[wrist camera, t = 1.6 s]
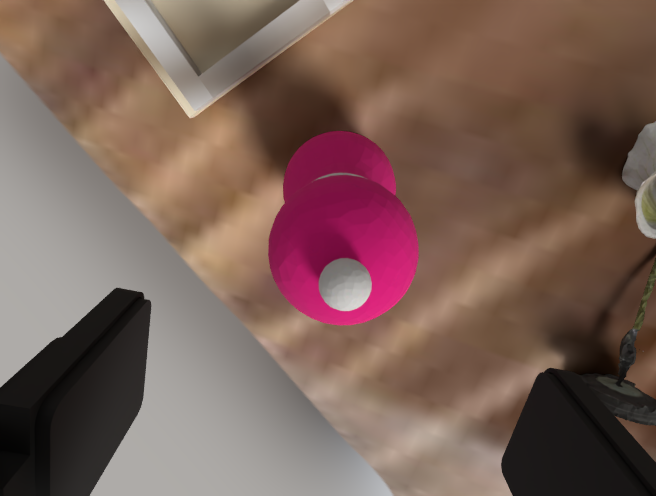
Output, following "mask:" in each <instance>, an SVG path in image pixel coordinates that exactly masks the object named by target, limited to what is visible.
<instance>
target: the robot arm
mask: <svg viewBox="0 0 656 496" xmlns="http://www.w3.org/2000/svg"><path fill="white" fill-rule="evenodd" d="M150 314H151V302H150V300H145V299H144V294H143V293H142V292H137V291H132V290H126V289H121V288H116V289H114V290H113V291H112V292H111V293H110V294H109V295H107V296H106V297H105V298H104V299H103V300H102V301H101V302H100V303H99V304H98V305H97V306H95V307H94V308H93V309H92V310H91V311H90V312H89V313H88V314H87V315H86V316H85V317H83V318H82V319H81V320H80V321H79V322H78V323H77V324H76V325H75V326H74V327H73V328H72V329H70V330H69V331H68V332H67V333H66V334H65V335H64V336H63V337H60V338H56V339H55V340H53V341H52V342H50V343H49V344H48V345H47V346H46V347H45V348H44V349H43V350H42V351H41V352H40V353H38V354H37V355H36V356H35V357H34V358H33V359H32V360H30V361H29V362H28V363H27V364H26V365H25V366H24V367H23V368H22V369H20V370H19V371H18V372H17V373H16V374H15V375H14V376H13V377H12V378H10V379H9V380H8V381H7V382H6V383H5V384H4V385H3V386H2V387H0V496H89V495H90V494H91V492H92V490H93V489H94V487H95V485H96V484H97V482H98V480H99V478H100V477H101V475H102V473H103V472H104V470H105V468H106V467H107V465H108V463H109V462H110V460H111V458H112V457H113V455H114V453H115V451H116V450H117V448H118V446H119V445H120V443H121V441H122V440H123V438H124V436H125V435H126V433H127V431H128V430H129V428H130V426H131V424H132V423H133V421H134V419H135V417H136V416H137V414H138V412H139V410H140V408H141V405H142V401H143V393H144V383H145V371H146V359H147V348H148V336H149V326H150ZM501 467H502V473H503V476H504V478H505V480H506V482H507V484H508V486H509V489H510V491H511V493H512V495H513V496H656V462H655V461H654V460H653V459H652V458H651V457H650V456H649V454H648V453H647V452H646V451H645V450H644V449H643V448H642V447H641V445H640V444H639V443H638V442H637V441H636V440H635V439H634V438H633V436H632V435H631V434H630V433H629V432H628V431H627V430H626V429H625V427H624V426H623V425H622V424H621V423H620V422H619V421H618V420H617V418H616V417H615V416H614V415H613V414H612V413H611V412H610V410H609V409H608V408H607V407H606V406H605V405H604V404H603V403H602V401H601V400H600V399H599V398H598V397H597V396H596V395H595V394H594V392H593V391H592V390H591V389H590V388H589V387H588V386H587V385H586V383H585V382H584V381H583V380H582V379H581V378H580V377H579V376H578V375H577V374H576V373H575V372H570V371H565V370H560V369H554V368H549V369H547V370H546V371H545V372H544V373H543V372H542V373H540V374H539V375H538V376H537V378H536V380H535V382H534V384H533V387H532V389H531V392H530V394H529V396H528V399H527V401H526V403H525V406H524V408H523V410H522V413H521V415H520V417H519V420H518V422H517V424H516V427H515V429H514V431H513V434H512V436H511V439H510V441H509V443H508V446H507V448H506V450H505V453H504V455H503V458H502V463H501Z"/></svg>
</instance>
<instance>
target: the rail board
mask: <svg viewBox="0 0 656 496" xmlns="http://www.w3.org/2000/svg"><path fill="white" fill-rule="evenodd" d="M104 1H105V3H106V4H107V6H108V7H109V8H110V10H111V11H112V12H113V14H114V15H115V16H116V18H117V19H118V21H119V22H120V23H121V25H122V26H123V27H124V29H125V30H126V32H127V33H128V34H129V36H130V37H131V38H132V40H133V41H134V43H135V44H136V45H137V47H138V48H139V49H140V51H141V52H142V53H143V55H144V56H145V58H146V59H147V60H148V62H149V63H150V64H151V66H152V67H153V69H154V70H155V71H156V73H157V74H158V75H159V77H160V78H161V80H162V81H163V82H164V84H165V85H166V86H167V88H168V89H169V90H170V92H171V93H172V95H173V96H174V97H175V99H176V100H177V101H178V103H179V104H180V106H181V107H182V108H183V110H184V111H185V112H186V114H187V115H188V116H189V118H193V117H195V116H196V115H198V114H199V113H200V112H202V111H203V110H204V109H206V108H207V107H209V106H210V105H211V104H213V103H214V102H215V101H217V100H218V99H220V98H221V97H222V96H224V95H225V94H226V93H228V92H229V91H230V90H232V89H233V88H235V87H236V86H237V85H239V84H240V83H241V82H243V81H244V80H245V79H247V78H248V77H250V76H251V75H252V74H254V73H255V72H256V71H258V70H259V69H261V68H262V67H263V66H265V65H266V64H267V63H269V62H270V61H271V60H273V59H274V58H276V57H277V56H278V55H280V54H281V53H282V52H284V51H285V50H286V49H288V48H289V47H291V46H292V45H293V44H295V43H296V42H297V41H299V40H300V39H302V38H303V37H304V36H306V35H307V34H308V33H310V32H311V31H312V30H314V29H315V28H317V27H318V26H319V25H321V24H322V23H323V22H325V21H326V20H327V19H329V18H330V17H332V16H333V15H334V14H336V13H337V12H338V11H340V10H341V9H343V8H344V7H345V6H347V5H348V4H349V3H351V2H352V1H353V0H104Z"/></svg>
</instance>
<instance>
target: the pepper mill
mask: <svg viewBox="0 0 656 496" xmlns="http://www.w3.org/2000/svg"><path fill="white" fill-rule="evenodd" d="M395 194H396V184H395V177H394V173H393V170H392V166H391V164H390V162H389V160H388V158H387V157H386V155H385V154H384V152H383V151H382V150H381V149H380V148H379V147H378V146H377V145H376V144H375V143H374V142H372V141H371V140H369V139H368V138H366V137H364V136H362V135H359V134H357V133H352V132H348V131H331V132H327V133H323V134H320V135H318V136H315V137H313V138H311V139H310V140H308V141H307V142H305V143H304V144H303V145H302V146H301V147H300V148H299V149H298V150H297V151H296V152H295V154H294V155H293V156H292V158H291V160H290V162H289V163H288V166H287V169H286V172H285V176H284V183H283V195H284V201H285V204H284V205H283V206H282V207H281V209H280V211H279V212H278V214H277V216H276V218H275V221H274V224H273V226H272V229H271V232H270V237H269V252H268V256H269V263H270V269H271V272H272V275H273V278H274V281H275V282H276V284H277V286H278V288H279V290H280V291H281V293H282V294H283V295H284V297H285V298H286V299H287V300H288V301H289V302H290V303H291V304H292V305H293V306H294V307H295V308H296V309H297V310H299V311H300V312H302V313H303V314H305V315H307V316H309V317H310V318H313V319H315V320H318V321H320V322H323V323H328V324H334V325H353V324H358V323H364V322H366V321H369V320H371V319H374V318H376V317H378V316H379V315H381V314H383V313H384V312H386V311H388V310H389V309H390V308H392V307H393V306H394V305H395V304H396V303H397V302H398V301H399V300H400V299H401V298H402V297H403V295H404V294H405V293H406V291H407V290H408V288H409V286H410V284H411V282H412V279H413V277H414V275H415V272H416V267H417V262H418V240H417V234H416V230H415V227H414V224H413V221H412V218H411V216H410V214H409V213H408V211H407V210H406V208H405V207H404V206H403V204H402V203H401V201H400V200H399V199H398V198H397V197H396V196H395Z"/></svg>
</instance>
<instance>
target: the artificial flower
mask: <svg viewBox="0 0 656 496" xmlns="http://www.w3.org/2000/svg"><path fill="white" fill-rule="evenodd" d="M622 179H623V181H624V182H625V183H626V184H627V185H628V186H630V187H631V188H633V189H635V190H637V192H636V198H635V206H636V221H637V224H638V228H639V229H640V230H641V232H642V233H643V234H644V235H645V236H647V237H650V238H654V239H656V121H655V122H654V123H652V124H648V125H646V126H645V127H644V129H643V130H642V131H641V133H640V134H639V135H638V139H637V141H636V143H635V145H634V147H633V149H632V150H631V151H630V152H629V153H628V159H627V161H626V163H625V166H624V168H623V173H622ZM655 279H656V258H655V262H654V265H653V267H652V270H651V273H650V276H649V279H648V282H647V285H646V288H645V291H644V295H643V298H642V301H641V304H640V308H639V311H638V314H637V317H636V321H635V324H634V326H633V329H631V330H630V331H629V332H628V333H627V334H626V335H625V336H624V338H623V339H622V341H621V345H620V357H619V359H620V363H619V364H618V365H619V372H618V374H619V377H618V376H615V375H612V374H606V375H601V374H597V373H594V374H583V375H578V376H579V377H580V378H581V379H582V380H583V381H584V382H585V383H586V385H587V386H588V387H589V388H590V389H591V390H592V391H593V392H594V394H595V395H596V396H597V397H598V398H599V399H600V400H601V401H602V403H603V404H604V405H605V406H606V407H607V408H608V409H609V410H610V412H611V413H612V414H613V415H614V416H617V417H620V418H623V419H625V420H629V421H632V422H636V423H640V424H644V425H655V426H656V400H655V399H654V398H652V397H650V396H649V395H647V394H645V393H643V392H642V391H640V390H639V389H638V388H635V385H636V384H634V383H632V382H630V381H628V380H624V378H625V377H626V372H627V371H628V370H629V368H630V366H631V365H632V364H634V362H635V359H636V348H635V347H634V341H635V340H636V335H637V331H639V330H640V328H641V326H642V324H643V319H644V314H645V307H646V305H647V299H648V298H649V296H650V294H651V292H652V288H653V287H654V282H655ZM639 350H640V349H639ZM643 352H644V351H643Z"/></svg>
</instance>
